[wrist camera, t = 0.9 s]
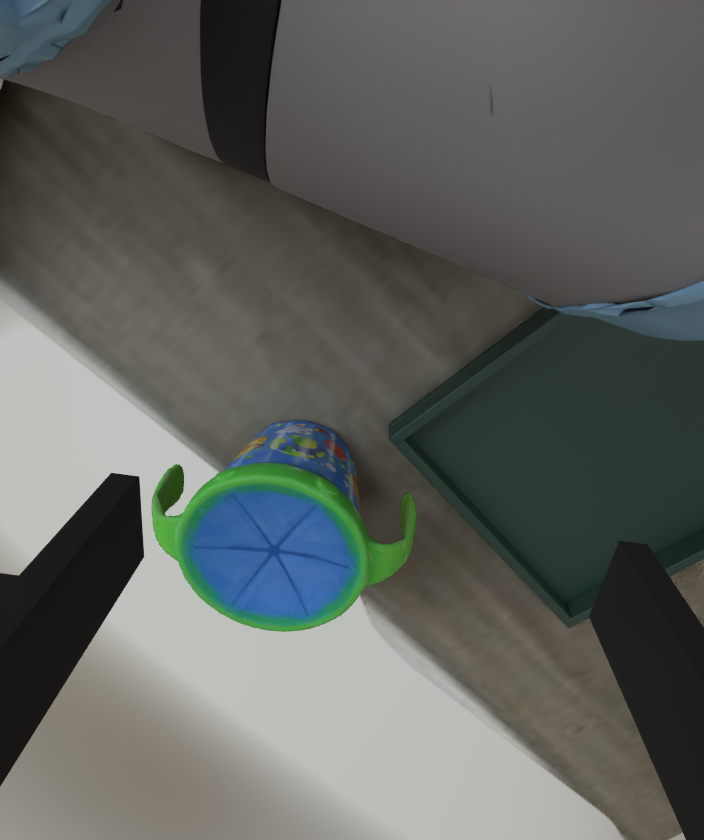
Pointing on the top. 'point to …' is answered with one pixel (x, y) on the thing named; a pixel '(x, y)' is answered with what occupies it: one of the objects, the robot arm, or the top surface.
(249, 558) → the sippy cup
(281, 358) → the top surface
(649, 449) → the tray
